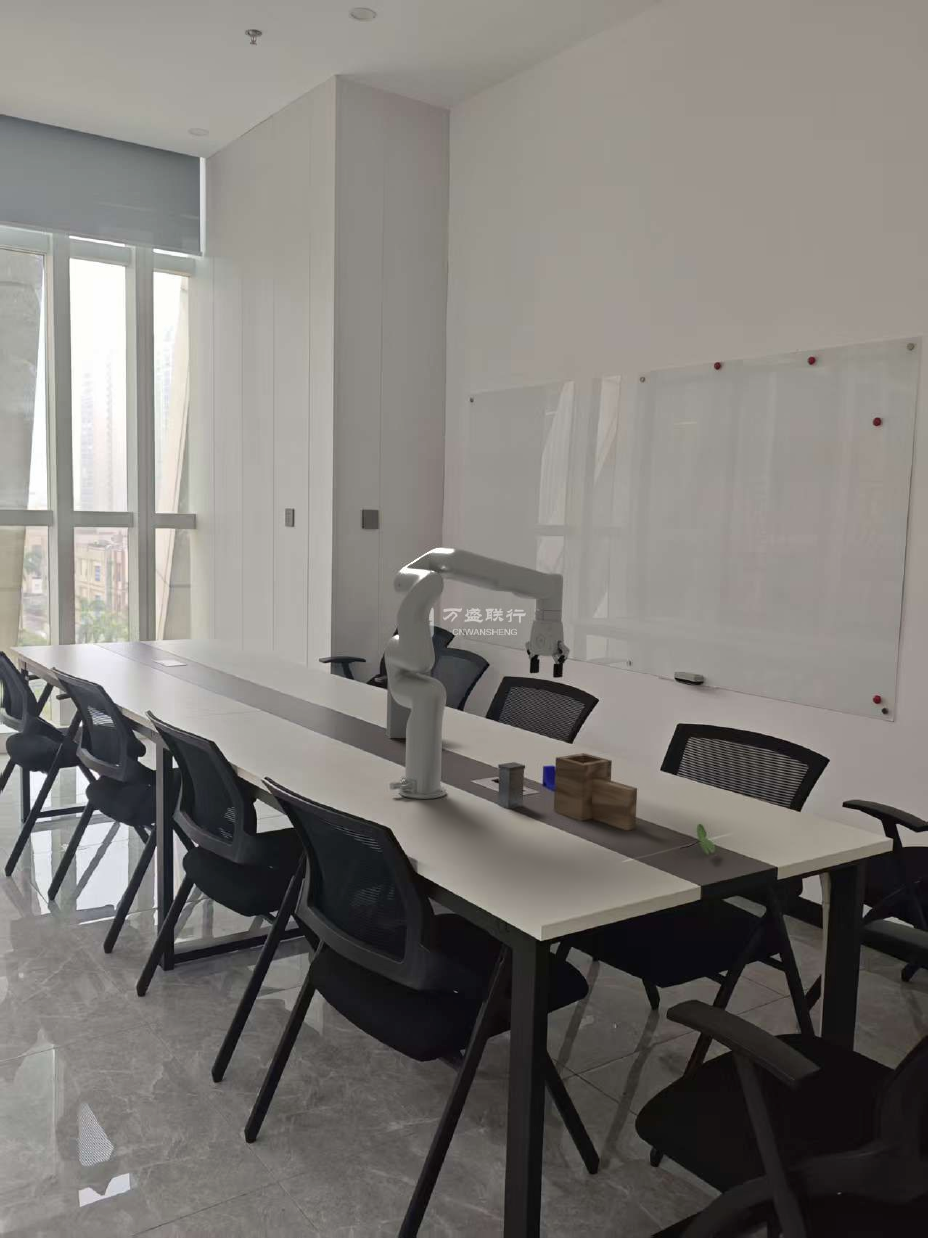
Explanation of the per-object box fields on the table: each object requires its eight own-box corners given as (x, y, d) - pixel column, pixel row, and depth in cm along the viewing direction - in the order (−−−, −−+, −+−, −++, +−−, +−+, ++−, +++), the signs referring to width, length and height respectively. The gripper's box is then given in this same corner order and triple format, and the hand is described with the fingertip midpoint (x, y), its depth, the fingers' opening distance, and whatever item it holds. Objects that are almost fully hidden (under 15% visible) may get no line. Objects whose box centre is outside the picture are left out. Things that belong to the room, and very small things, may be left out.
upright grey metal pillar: (508, 809, 264) (509, 768, 263) (497, 805, 267) (498, 764, 266) (523, 806, 267) (525, 765, 266) (512, 802, 270) (514, 762, 269)
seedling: (693, 871, 234) (718, 860, 231) (673, 853, 230) (698, 842, 227) (689, 846, 239) (713, 835, 236) (670, 828, 236) (694, 817, 233)
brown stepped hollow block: (616, 832, 246) (619, 775, 245) (553, 811, 263) (555, 757, 262) (645, 826, 252) (647, 770, 251) (581, 805, 269) (583, 753, 268)
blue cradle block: (577, 796, 279) (578, 774, 279) (563, 797, 277) (564, 776, 277) (556, 785, 290) (557, 765, 290) (542, 787, 288) (543, 766, 288)
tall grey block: (424, 736, 352) (426, 664, 349) (429, 740, 346) (431, 666, 344) (385, 738, 347) (386, 664, 345) (389, 741, 341) (391, 667, 339)
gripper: (518, 613, 299) (516, 672, 301) (560, 619, 286) (557, 680, 287) (537, 613, 304) (534, 670, 305) (579, 618, 291) (576, 678, 292)
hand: (545, 675), depth 296 cm, fingers open, 9 cm apart
